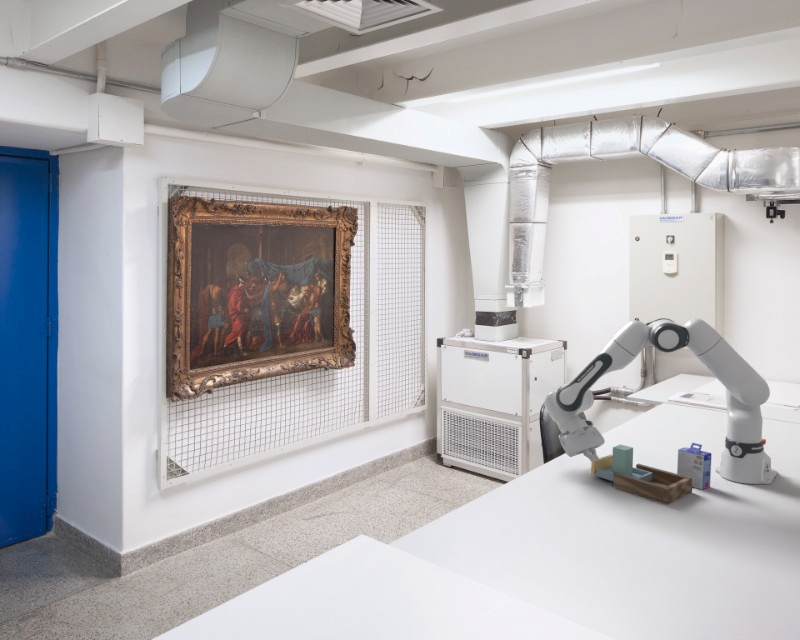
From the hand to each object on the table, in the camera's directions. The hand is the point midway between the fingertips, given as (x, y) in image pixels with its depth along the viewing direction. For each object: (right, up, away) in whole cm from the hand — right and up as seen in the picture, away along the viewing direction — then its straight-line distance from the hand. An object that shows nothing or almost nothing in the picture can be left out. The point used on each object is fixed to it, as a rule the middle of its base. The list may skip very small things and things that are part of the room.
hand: (595, 460), depth 241 cm
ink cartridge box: (+31, -6, -13) cm, 34 cm away
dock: (+14, -6, -17) cm, 23 cm away
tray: (+7, -4, -8) cm, 12 cm away
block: (+7, -3, -8) cm, 11 cm away
